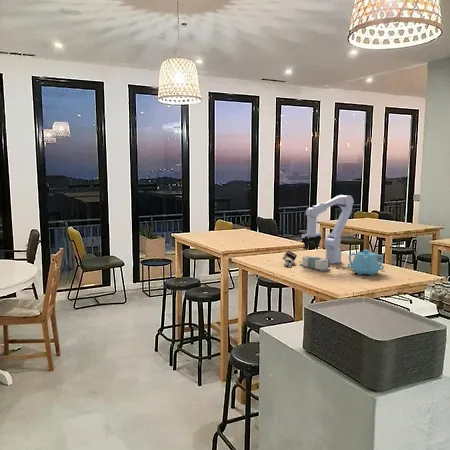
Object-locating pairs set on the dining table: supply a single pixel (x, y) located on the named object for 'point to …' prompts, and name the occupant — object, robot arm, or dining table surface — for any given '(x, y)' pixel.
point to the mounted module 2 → (321, 264)
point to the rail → (315, 268)
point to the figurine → (289, 258)
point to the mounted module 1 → (306, 260)
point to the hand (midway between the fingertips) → (311, 248)
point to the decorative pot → (365, 263)
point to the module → (313, 261)
